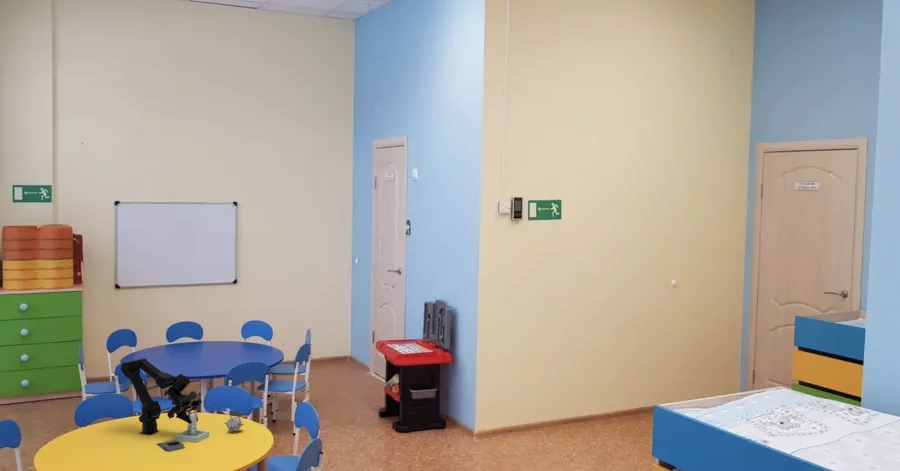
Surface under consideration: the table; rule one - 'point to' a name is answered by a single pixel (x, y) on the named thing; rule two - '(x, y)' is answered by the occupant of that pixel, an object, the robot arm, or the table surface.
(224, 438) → the table surface
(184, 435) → the tray
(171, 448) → the grey slab
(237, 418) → the game die
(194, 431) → the pin
